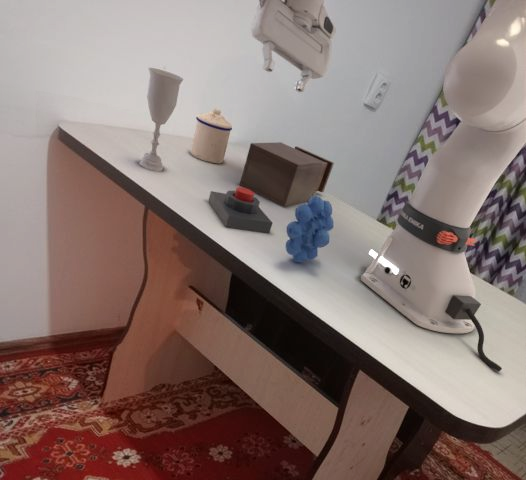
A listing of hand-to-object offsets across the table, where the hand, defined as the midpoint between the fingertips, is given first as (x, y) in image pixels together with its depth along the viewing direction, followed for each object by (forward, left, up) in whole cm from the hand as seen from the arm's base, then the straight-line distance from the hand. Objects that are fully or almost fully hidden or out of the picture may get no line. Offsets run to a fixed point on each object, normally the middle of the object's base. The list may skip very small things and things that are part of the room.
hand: (283, 80), depth 99 cm
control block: (-23, +12, -23) cm, 34 cm away
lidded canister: (+17, +8, -23) cm, 30 cm away
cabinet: (-3, -5, -23) cm, 24 cm away
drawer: (+5, -14, -22) cm, 27 cm away
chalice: (-1, +25, -23) cm, 34 cm away
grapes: (-41, +6, -23) cm, 47 cm away
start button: (-23, +12, -19) cm, 32 cm away
